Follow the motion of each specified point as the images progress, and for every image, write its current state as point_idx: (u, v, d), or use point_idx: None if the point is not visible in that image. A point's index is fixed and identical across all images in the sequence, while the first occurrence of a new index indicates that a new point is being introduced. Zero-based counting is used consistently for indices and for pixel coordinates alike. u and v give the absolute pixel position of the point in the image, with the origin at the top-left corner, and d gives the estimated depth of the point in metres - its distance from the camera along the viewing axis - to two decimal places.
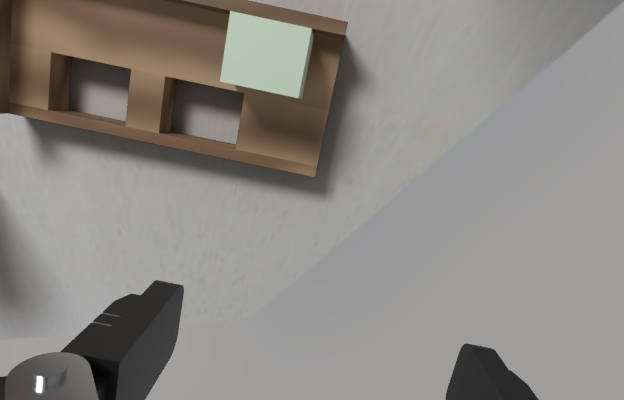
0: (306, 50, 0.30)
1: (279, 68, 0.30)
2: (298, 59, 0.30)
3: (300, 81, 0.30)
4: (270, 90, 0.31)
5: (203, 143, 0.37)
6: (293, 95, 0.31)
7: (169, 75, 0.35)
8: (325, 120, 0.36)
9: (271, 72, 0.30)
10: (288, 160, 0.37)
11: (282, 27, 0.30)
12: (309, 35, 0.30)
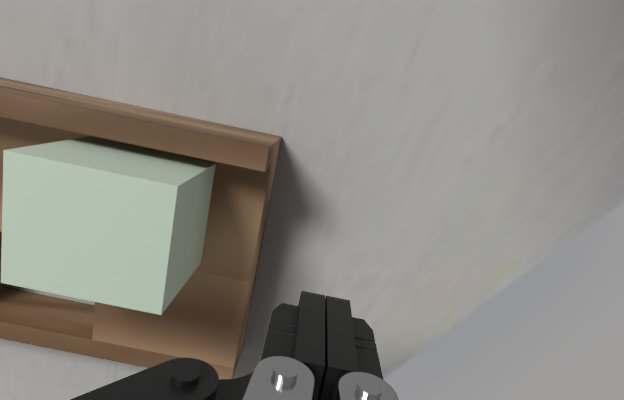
0: (170, 228, 0.14)
1: (117, 261, 0.15)
2: (154, 245, 0.15)
3: (162, 285, 0.15)
4: (104, 300, 0.15)
5: (36, 329, 0.21)
6: (150, 310, 0.15)
7: None
8: (244, 297, 0.20)
9: (103, 267, 0.15)
10: None
11: (116, 183, 0.14)
12: (173, 199, 0.14)
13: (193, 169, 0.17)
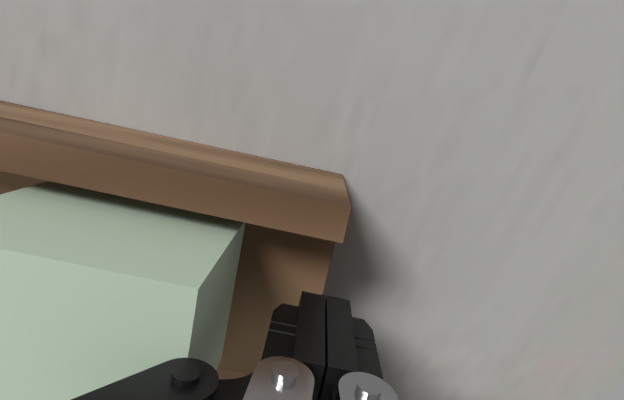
0: (184, 357, 0.08)
1: None
2: None
3: None
4: None
5: None
6: None
7: None
8: None
9: None
10: None
11: (89, 284, 0.08)
12: (191, 311, 0.08)
13: (217, 236, 0.11)
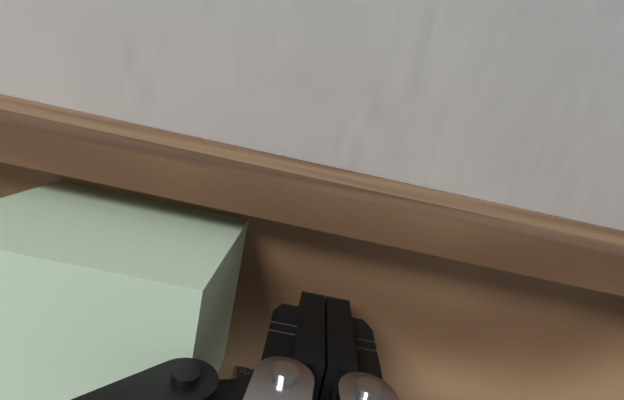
0: None
1: None
2: None
3: None
4: None
5: None
6: None
7: (244, 363, 0.14)
8: None
9: None
10: None
11: (95, 286, 0.08)
12: (195, 313, 0.08)
13: (220, 238, 0.11)
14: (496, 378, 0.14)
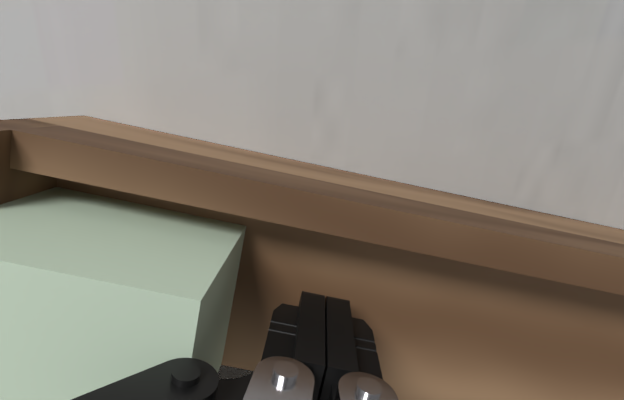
0: None
1: None
2: None
3: None
4: None
5: None
6: None
7: None
8: None
9: None
10: None
11: (92, 296, 0.08)
12: (193, 322, 0.08)
13: (218, 245, 0.11)
14: None
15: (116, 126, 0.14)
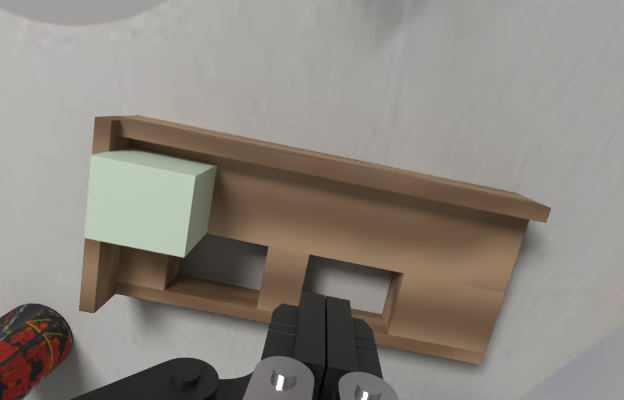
0: (190, 202, 0.24)
1: (157, 223, 0.24)
2: (180, 213, 0.24)
3: (185, 238, 0.24)
4: (148, 248, 0.24)
5: None
6: (177, 254, 0.24)
7: (314, 253, 0.29)
8: (499, 303, 0.30)
9: (148, 227, 0.24)
10: (451, 347, 0.31)
11: (158, 175, 0.23)
12: (193, 184, 0.23)
13: (203, 167, 0.26)
14: (434, 258, 0.29)
15: (155, 120, 0.30)
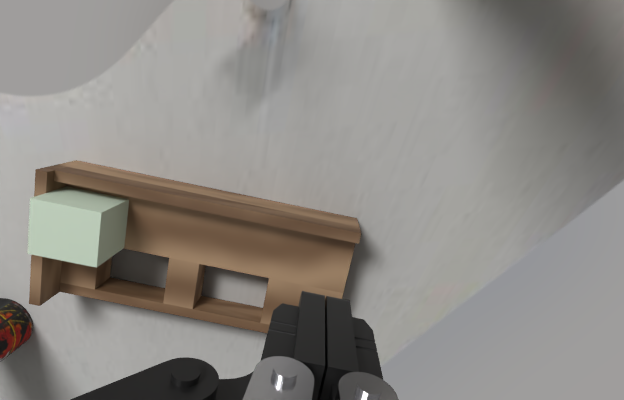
0: (99, 229, 0.34)
1: (77, 243, 0.35)
2: (92, 237, 0.35)
3: (96, 254, 0.35)
4: (71, 261, 0.35)
5: (232, 317, 0.41)
6: (92, 265, 0.35)
7: (203, 263, 0.40)
8: None
9: (71, 246, 0.35)
10: None
11: (76, 211, 0.34)
12: (100, 218, 0.34)
13: (114, 203, 0.37)
14: (290, 267, 0.40)
15: (87, 165, 0.40)
